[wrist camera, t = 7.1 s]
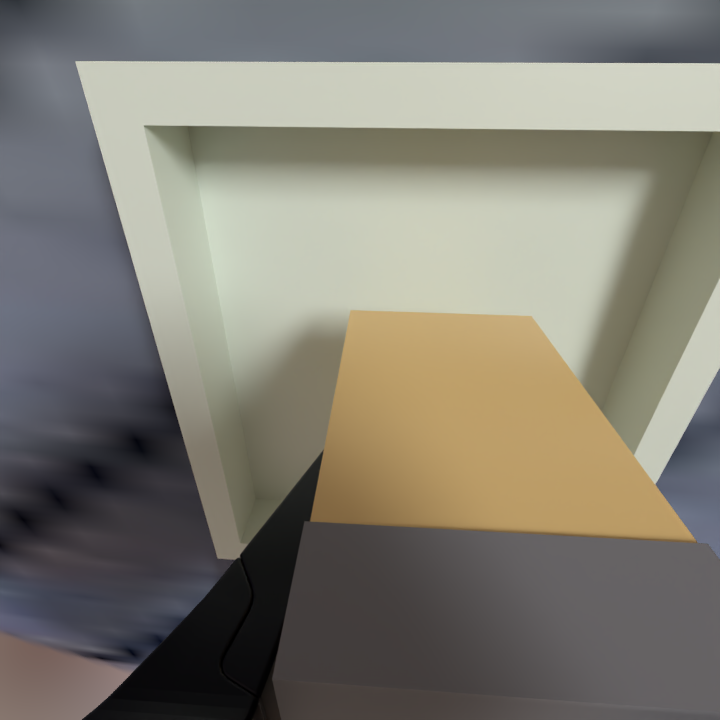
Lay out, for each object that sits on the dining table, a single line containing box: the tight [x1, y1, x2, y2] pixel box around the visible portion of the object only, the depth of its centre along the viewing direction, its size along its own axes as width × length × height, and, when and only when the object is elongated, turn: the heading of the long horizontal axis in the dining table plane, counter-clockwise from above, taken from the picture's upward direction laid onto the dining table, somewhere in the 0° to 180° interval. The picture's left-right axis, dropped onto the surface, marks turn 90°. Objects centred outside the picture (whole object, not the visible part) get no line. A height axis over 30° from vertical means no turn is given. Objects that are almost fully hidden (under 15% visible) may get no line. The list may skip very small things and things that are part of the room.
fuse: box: [272, 310, 720, 720], centre depth 8 cm, size 4×6×7 cm
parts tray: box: [75, 61, 720, 560], centre depth 12 cm, size 14×15×2 cm
